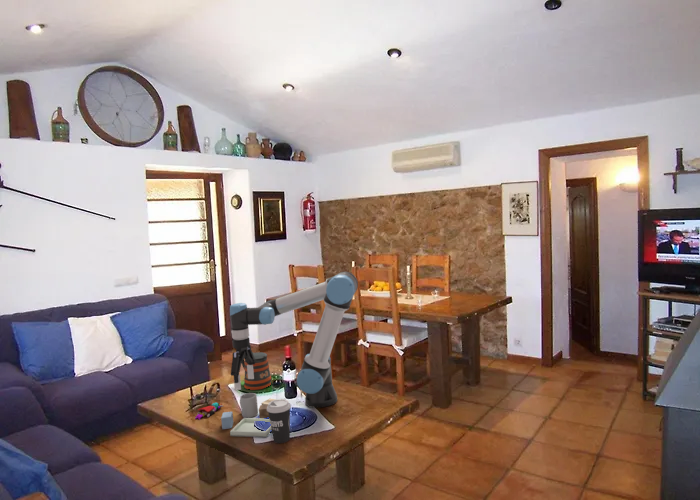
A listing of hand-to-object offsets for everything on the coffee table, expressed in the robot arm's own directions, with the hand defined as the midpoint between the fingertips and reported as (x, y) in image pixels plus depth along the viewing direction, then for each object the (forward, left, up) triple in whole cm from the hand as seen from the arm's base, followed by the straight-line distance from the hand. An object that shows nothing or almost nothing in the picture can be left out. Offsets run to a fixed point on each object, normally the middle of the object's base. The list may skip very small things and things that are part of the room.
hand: (244, 384), depth 225 cm
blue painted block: (+4, +12, -14) cm, 19 cm away
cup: (0, 0, -14) cm, 14 cm away
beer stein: (+13, -37, -14) cm, 42 cm away
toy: (+20, -1, -15) cm, 24 cm away
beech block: (-8, -6, -14) cm, 18 cm away
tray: (-10, +15, -14) cm, 23 cm away
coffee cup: (-25, +23, -14) cm, 37 cm away
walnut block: (-10, +3, -14) cm, 18 cm away
